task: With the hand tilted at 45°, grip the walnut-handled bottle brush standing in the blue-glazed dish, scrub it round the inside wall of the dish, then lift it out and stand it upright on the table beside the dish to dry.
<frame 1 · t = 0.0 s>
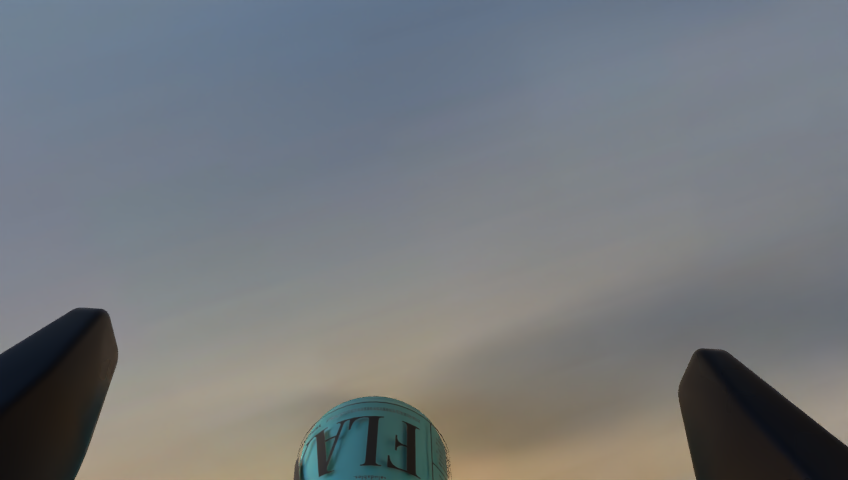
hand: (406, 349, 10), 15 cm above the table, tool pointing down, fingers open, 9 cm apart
beverage bottle: (376, 431, 29), on the table
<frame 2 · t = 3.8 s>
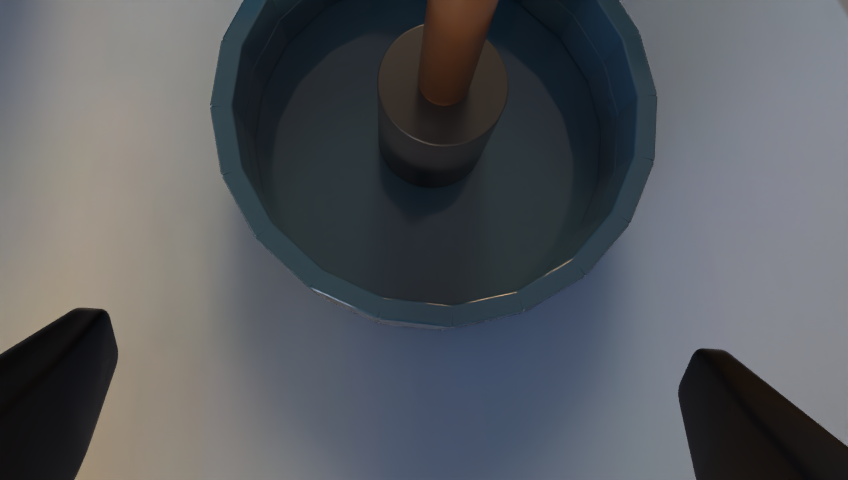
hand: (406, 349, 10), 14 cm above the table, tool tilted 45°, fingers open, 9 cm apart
dish: (429, 142, 25), on the table
brush: (431, 136, 24), point 1 cm above the table, touching dish
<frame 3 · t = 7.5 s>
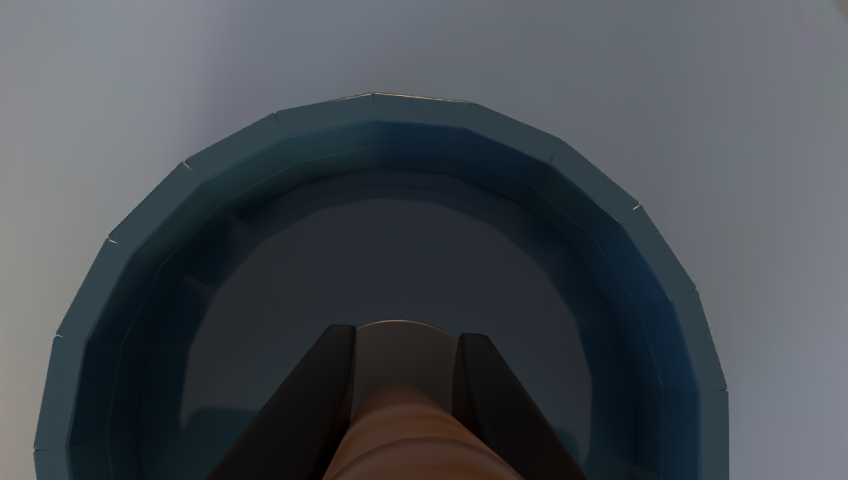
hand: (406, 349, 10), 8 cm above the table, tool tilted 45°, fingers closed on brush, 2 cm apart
dish: (392, 404, 17), on the table
brush: (392, 405, 17), point 1 cm above the table, touching dish, gripper
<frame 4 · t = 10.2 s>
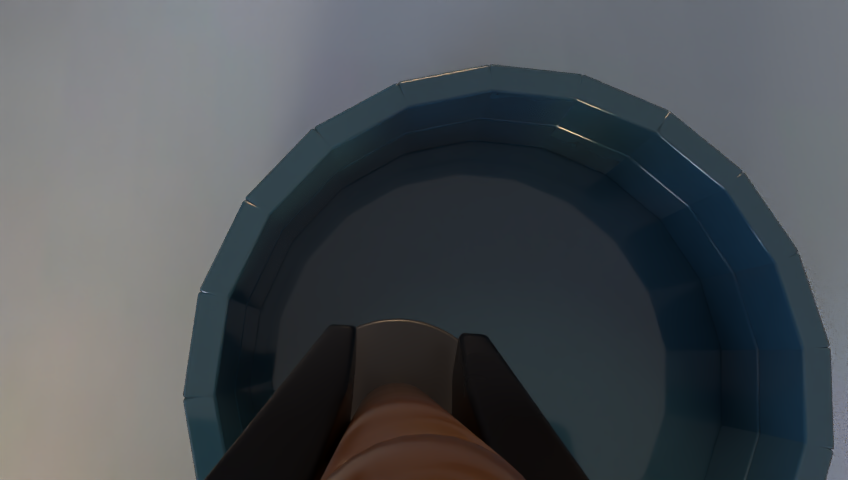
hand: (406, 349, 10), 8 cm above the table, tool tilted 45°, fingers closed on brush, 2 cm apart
dish: (488, 367, 18), on the table
brush: (392, 406, 17), point 1 cm above the table, touching gripper
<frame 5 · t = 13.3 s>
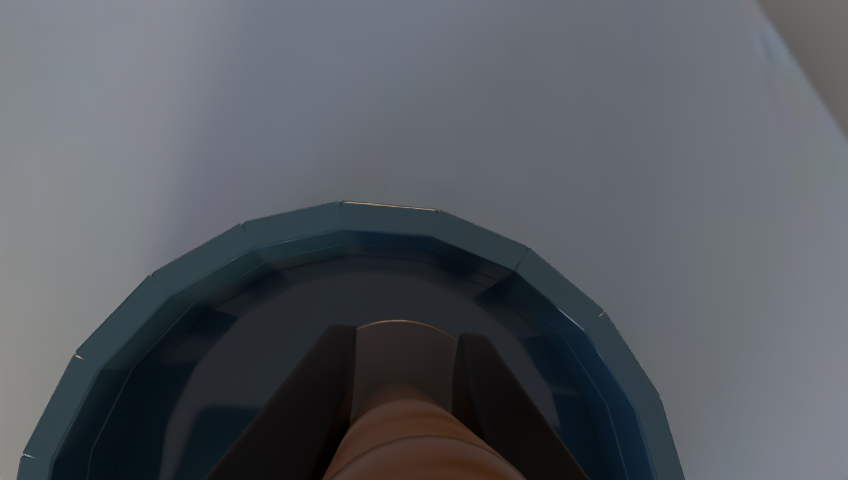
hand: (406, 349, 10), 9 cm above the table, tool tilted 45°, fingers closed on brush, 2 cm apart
brush: (393, 406, 17), point 1 cm above the table, touching gripper
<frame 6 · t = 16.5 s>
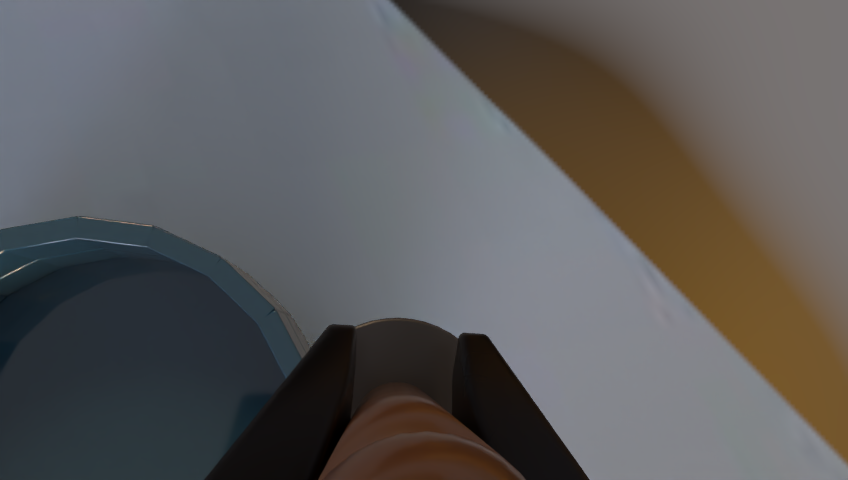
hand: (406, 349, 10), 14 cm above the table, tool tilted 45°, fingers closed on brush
dish: (122, 447, 22), on the table
brush: (392, 405, 17), point 6 cm above the table, touching gripper
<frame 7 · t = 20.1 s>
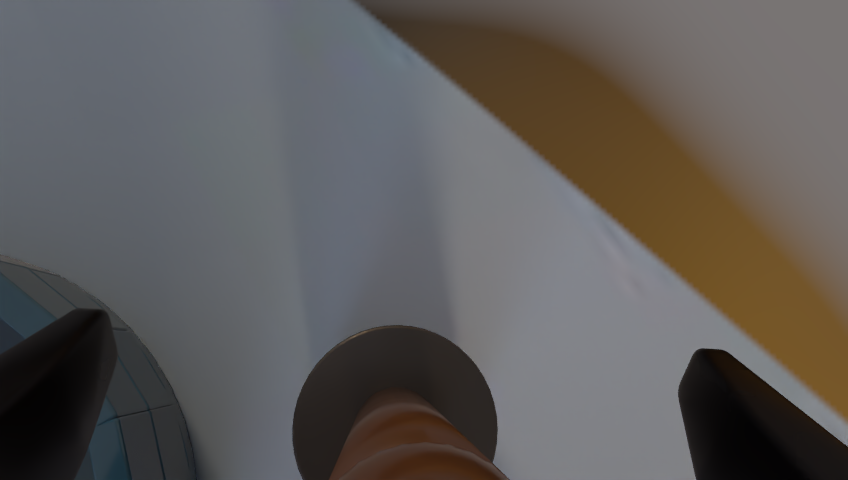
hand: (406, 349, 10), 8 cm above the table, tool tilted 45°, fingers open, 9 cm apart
brush: (392, 408, 17), on the table
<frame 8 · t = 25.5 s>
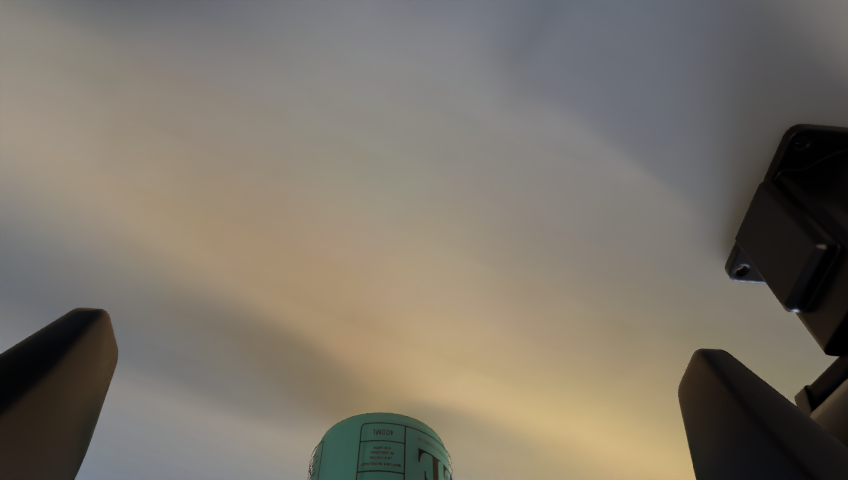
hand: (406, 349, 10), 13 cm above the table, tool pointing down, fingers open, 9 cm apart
beverage bottle: (385, 425, 31), on the table
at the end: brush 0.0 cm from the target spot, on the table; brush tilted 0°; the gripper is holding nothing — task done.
